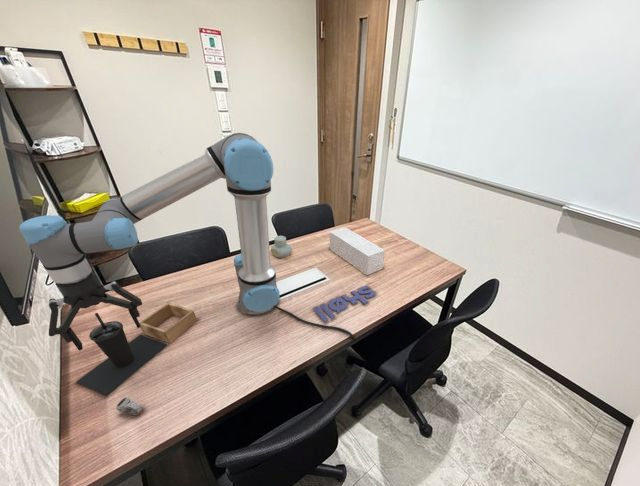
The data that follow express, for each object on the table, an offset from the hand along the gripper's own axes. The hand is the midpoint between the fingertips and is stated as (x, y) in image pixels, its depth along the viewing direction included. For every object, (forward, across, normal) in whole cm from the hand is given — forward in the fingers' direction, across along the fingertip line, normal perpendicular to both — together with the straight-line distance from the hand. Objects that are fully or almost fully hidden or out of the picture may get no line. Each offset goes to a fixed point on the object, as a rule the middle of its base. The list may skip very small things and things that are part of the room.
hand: (110, 335), depth 83 cm
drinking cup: (+12, 0, 0) cm, 12 cm away
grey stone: (+12, +2, +20) cm, 24 cm away
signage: (+13, -74, +21) cm, 78 cm away
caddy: (+12, -14, -9) cm, 21 cm away
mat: (+12, 0, 0) cm, 12 cm away
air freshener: (+13, -72, -31) cm, 79 cm away
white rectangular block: (+13, -100, -5) cm, 102 cm away
